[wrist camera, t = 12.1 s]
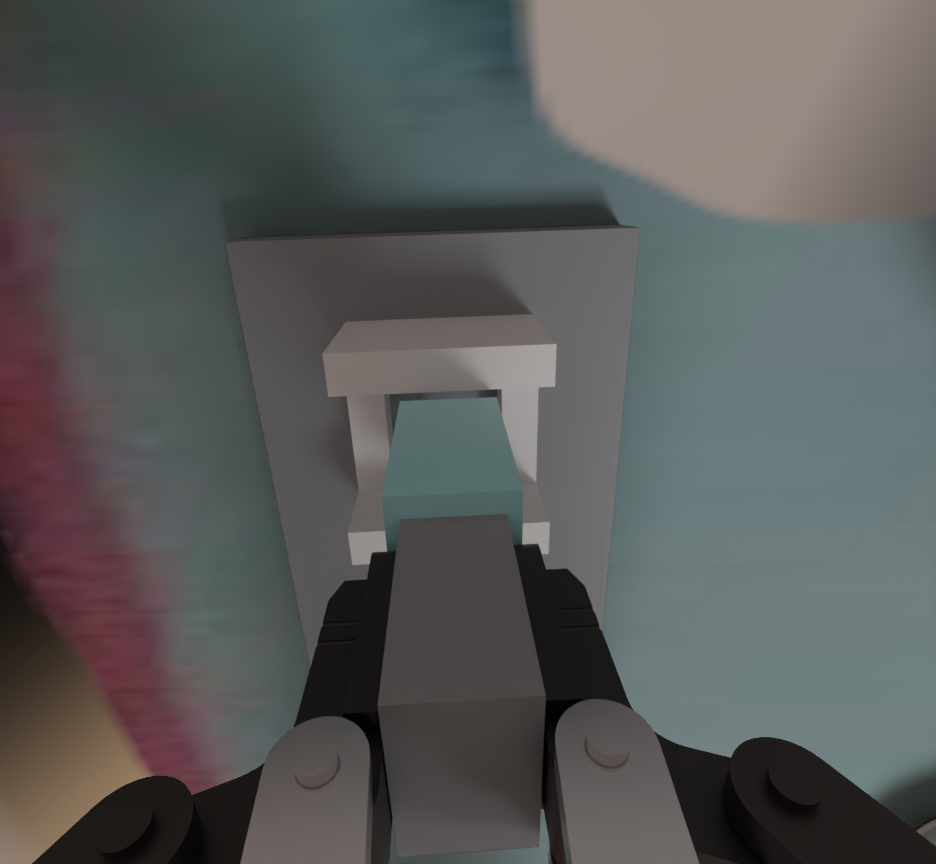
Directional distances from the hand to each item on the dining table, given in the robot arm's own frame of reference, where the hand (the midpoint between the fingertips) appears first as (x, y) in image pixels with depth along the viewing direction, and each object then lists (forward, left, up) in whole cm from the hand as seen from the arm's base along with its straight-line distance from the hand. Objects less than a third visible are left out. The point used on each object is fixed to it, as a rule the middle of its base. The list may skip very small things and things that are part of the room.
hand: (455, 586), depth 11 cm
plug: (0, 0, -5) cm, 5 cm away
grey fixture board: (-6, -6, -11) cm, 14 cm away
